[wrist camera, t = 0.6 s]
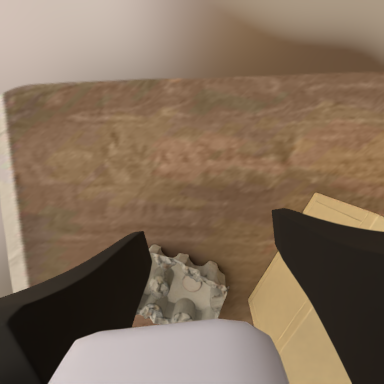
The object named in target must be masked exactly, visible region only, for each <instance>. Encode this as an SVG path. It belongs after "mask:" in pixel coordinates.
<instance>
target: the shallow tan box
mask: <svg viewBox="0 0 384 384" xmlns="http://www.w3.org/2000/svg"><path fill="white" fill-rule="evenodd" d="M303 214H306V215H309V216H312V217H315V218H319V219H322V220H326V221H330V222H333V223H337V224H342V225H346V226H351V227H356V228H362V229H368V230H374V231H382V232H384V217H383V216H381V215H378V214H375V213H373V212H370V211H367V210H364V209H361V208H359V207H356V206H353V205H350V204H347V203H344V202H342V201H339V200H336V199H333V198H330V197H327V196H325V195H322V194H319V193H316V192H315V194H314V195H313V197H312V198H311V200H310V201H309V203H308V205H307V206H306V208H305V209H304V211H303ZM248 302H249V306H250V310H251V315H252V319H253V323H254V327H256V328H257V329H259V330H261V331H263V332H264V333H266V334H268V335H269V336H270V337H271V339H272V341H273V343H274V345H275V347H276V349H277V351H278V353H279V355H280V357H281V360H282V363H283V365H284V368H285V371H286V374H287V377H288V380H289V383H290V384H352V383H351V381H350V379H349V377H348V375H347V372H346V370H345V368H344V366H343V364H342V362H341V360H340V358H339V356H338V354H337V352H336V350H335V348H334V346H333V344H332V342H331V340H330V338H329V336H328V334H327V332H326V330H325V328H324V326H323V324H322V322H321V320H320V319H319V317H318V315H317V313H316V311H315V309H314V307H313V305H312V304H311V302H310V300H309V299H308V297H307V295H306V294H305V292H304V291H303V289H302V288H301V286H300V285H299V283H298V282H297V280H296V279H295V277H294V276H293V275H292V273H291V272H290V270H289V268H288V267H287V265H286V264H285V262H284V261H283V259H282V257H281V255H280V253H279V251H278V252H277V254H276V256H275V257H274V259H273V260H272V262H271V263H270V265H269V267H268V268H267V270H266V271H265V273H264V275H263V276H262V278H261V279H260V281H259V283H258V284H257V286H256V287H255V289H254V291H253V292H252V294H251V295H250V297H249V298H248Z"/></svg>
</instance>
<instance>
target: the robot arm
mask: <svg viewBox="0 0 384 384" xmlns="http://www.w3.org/2000/svg"><path fill="white" fill-rule="evenodd" d="M272 218H273V228H274V238H275V245H276V247H277V249H278V251H279V253H280V255H281V257H282V259H283V261H284V262H285V264H286V265H287V267H288V268H289V270H290V272H291V273H292V275H293V276H294V277H295V279H296V280H297V282H298V283H299V285H300V286H301V288H302V289H303V291H304V292H305V294H306V295H307V297H308V299H309V300H310V302H311V304H312V305H313V307H314V309H315V311H316V313H317V315H318V317H319V319H320V320H321V322H322V324H323V326H324V328H325V330H326V332H327V334H328V336H329V338H330V340H331V342H332V344H333V346H334V348H335V350H336V352H337V354H338V356H339V358H340V360H341V362H342V364H343V366H344V368H345V370H346V372H347V375H348V377H349V379H350V381H351V383H352V384H384V232H382V231H374V230H368V229H362V228H356V227H351V226H346V225H342V224H337V223H333V222H330V221H326V220H322V219H319V218H315V217H312V216H309V215H306V214H303V213H300V212H296V211H293V210H290V209H285V208H282V209H276V210H272ZM151 266H152V258H151V255H150V252H149V248H148V245H147V242H146V238H145V235H144V232H143V231H140V232H134V233H131V234H129V235H127V236H126V237H124V238H122V239H121V240H119V241H118V242H116V243H115V244H113V245H112V246H110V247H109V248H107V249H105V250H104V251H102V252H101V253H99V254H97V255H96V256H94V257H92V258H91V259H89V260H88V261H86V262H84V263H82V264H80V265H79V266H77V267H75V268H73V269H71V270H69V271H67V272H65V273H63V274H60V275H58V276H56V277H54V278H51V279H49V280H47V281H45V282H42V283H40V284H37V285H35V286H32V287H30V288H27V289H24V290H22V291H19V292H16V293H13V294H11V295H8V296H5V297H2V298H0V384H290V383H289V380H288V377H287V374H286V371H285V368H284V365H283V363H282V360H281V357H280V355H279V353H278V351H277V349H276V347H275V345H274V343H273V341H272V339H271V337H270V336H269V335H268V334H266V333H264V332H263V331H261V330H259V329H257V328H256V327H254V326H252V325H250V324H249V323H247V322H245V321H238V320H227V319H217V318H216V319H207V320H198V321H189V322H180V323H171V324H161V325H152V326H143V327H134V328H132V324H133V321H134V318H135V315H136V312H137V309H138V307H139V304H140V301H141V299H142V296H143V293H144V290H145V288H146V285H147V282H148V279H149V276H150V271H151Z"/></svg>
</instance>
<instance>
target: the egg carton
mask: <svg viewBox="0 0 384 384" xmlns="http://www.w3.org/2000/svg"><path fill="white" fill-rule="evenodd" d="M149 252H150V255H151V258H152V266H151V271H150V276H149V279H148V282H147V285H146V288H145V290H144V293H143V296H142V299H141V301H140V304H139V307H138V309H137V312H136V315H137V314H140V315H142V316H144V318H145V319H146V318H148V317H149V318H150V319H151V320H152V322H153V323H154V324H171V323H180V322H189V321H198V320H207V319H216V318H217V319H218V316H219V314H220V311H221V307H222V305H223V302H224V300H225V298H226V295H227V292H228V290H229V287H230V286H228V287H226V286H225V275H224V274H223V273H221V272H220V271H219V269H218V265H217V264H216V263H215V262H213V261H208V262H207V263H206V264H205V265H204V266H196V265H194V264H193V263H192V262H191V261H190V258H189V255H188V254H182V253H179V254H178V255H177V256H176V257H174V258H169V257H166V256H165V255H164V254H163V253H162V251H161V246H158V245H152V246H151V247H150V248H149Z"/></svg>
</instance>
